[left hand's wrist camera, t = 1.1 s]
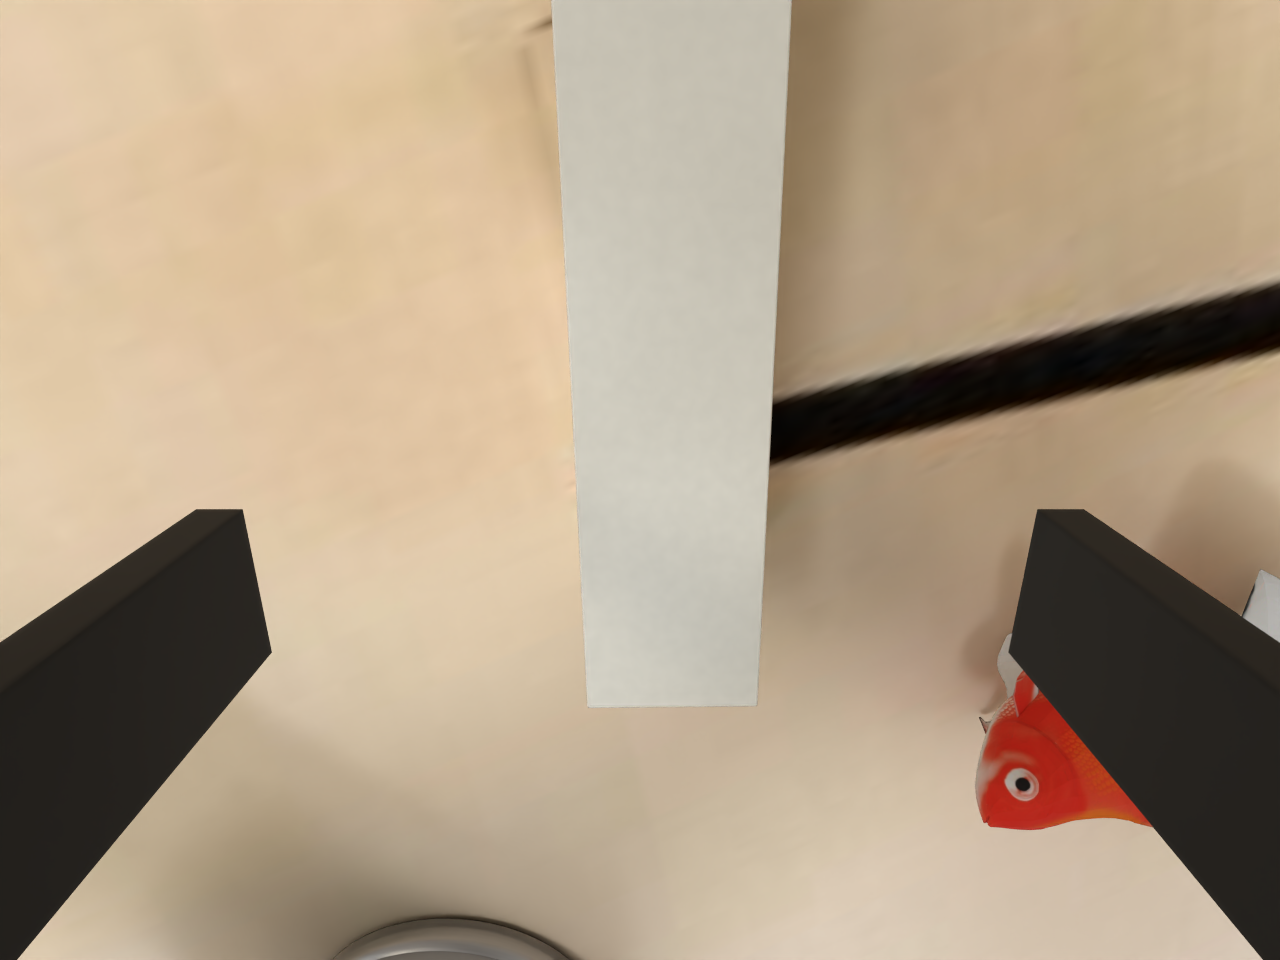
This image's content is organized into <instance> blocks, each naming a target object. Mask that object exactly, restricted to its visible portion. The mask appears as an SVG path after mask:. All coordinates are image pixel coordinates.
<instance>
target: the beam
mask: <svg viewBox="0 0 1280 960" xmlns="http://www.w3.org/2000/svg"><path fill="white" fill-rule="evenodd" d="M551 7H552V27H553V46H554V66H555V86H556V105H557V125H558V144H559V164H560V183H561V203H562V222H563V242H564V261H565V281H566V300H567V320H568V339H569V359H570V378H571V398H572V417H573V437H574V456H575V476H576V495H577V515H578V534H579V554H580V573H581V593H582V612H583V632H584V651H585V671H586V691H587V706H588V708H624V707H727V706H757V704H758V685H759V664H760V644H761V623H762V603H763V583H764V562H765V542H766V521H767V501H768V480H769V460H770V439H771V419H772V398H773V378H774V357H775V337H776V316H777V296H778V275H779V255H780V235H781V214H782V194H783V173H784V153H785V132H786V112H787V91H788V71H789V50H790V30H791V9H792V0H551Z"/></svg>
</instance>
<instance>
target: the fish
mask: <svg viewBox="0 0 1280 960" xmlns="http://www.w3.org/2000/svg"><path fill="white" fill-rule="evenodd" d="M1242 617H1243V618H1244V619H1246V620H1247V621H1249V622H1250V623H1252V624H1253V625H1255V626H1256V627H1258V628H1259V629H1261V630H1262V631H1264V632H1265V633H1267V634H1268V635H1269V636H1271V637H1272V638H1274V639H1275V640H1277V641H1278V642H1280V579H1279V578H1277V577H1275V576H1273V575H1271V574H1269V573H1267V572H1265V571H1264V570H1262V569H1260V572H1259V574H1258V576H1257V579H1256V581H1255V584H1254V586H1253V589H1252V591H1251V594H1250V596H1249V599H1248V601H1247V604H1246V606H1245V609H1244V612H1243V614H1242ZM1011 636H1012V633H1010V634H1008V635H1007V636H1006V638H1005V640H1004V642H1003V645H1002V647H1001V650H1000V652H999V655H998V660H997V667H998V671H999V673H1000V675H1001V678H1002V679H1003V681H1004V683H1005V686H1006V689H1007V698H1008V699H1007V700H1006V701H1005V702H1004V703H1003V704H1002V705H1001V706H1000V707H999V708H998V709H997V711H996V712H995V714H994V716H993V718H992V720H991V721H990V722H985V721H984V720H983V719H982V718H981V717H979V719H980V721H981V723H982V726H983V728H984V731H985V734H986V736H985V739H984V743H983V746H982V750H981V753H980V758H979V762H978V767H977V772H976V782H975V789H976V799H977V803H978V807H979V811H980V814H981V817H982V820H983V822H984V823H986V822H987V823H988V825H989V826H990V827H1000V828H1009V829H1019V830H1037V829H1044V828H1047V827H1052V826H1056V825H1059V824H1063V823H1066V822H1070V821H1074V820H1082V819H1092V818H1117V819H1123V820H1129V821H1132V822H1134V823H1138V824H1142V825H1146V826H1150V827H1153V826H1152V825H1151V824H1150V823H1149V822H1148V820H1147V819H1146V818H1145V817H1144V816H1143V814H1142V813H1141V812H1140V811H1139V809H1138V808H1137V807H1136V806H1135V805H1134V803H1133V802H1132V801H1131V800H1130V799H1129V797H1128V796H1127V795H1126V794H1125V793H1124V791H1123V790H1122V789H1121V788H1120V787H1119V785H1118V784H1117V783H1116V782H1115V781H1114V779H1113V778H1112V777H1111V776H1110V774H1109V773H1108V772H1107V771H1106V770H1105V768H1104V767H1103V766H1102V765H1101V764H1100V762H1099V761H1098V760H1097V759H1096V758H1095V756H1094V755H1093V754H1092V753H1091V752H1090V750H1089V749H1088V748H1087V747H1086V746H1085V744H1084V743H1083V742H1082V741H1081V739H1080V738H1079V737H1078V736H1077V735H1076V733H1075V732H1074V731H1073V730H1072V729H1071V727H1070V726H1069V725H1068V724H1067V723H1066V721H1065V720H1064V719H1063V718H1062V717H1061V715H1060V714H1059V713H1058V712H1057V711H1056V709H1055V708H1054V707H1053V706H1052V704H1051V703H1050V702H1049V701H1048V700H1047V698H1046V697H1045V696H1044V695H1043V694H1042V692H1041V691H1040V690H1039V689H1038V688H1037V686H1036V685H1035V684H1034V683H1033V682H1032V680H1031V679H1030V678H1029V677H1028V676H1027V674H1026V673H1025V672H1024V671H1023V669H1022V668H1021V667H1020V666H1019V665H1018V663H1017V662H1016V661H1015V660H1014V659H1013V657H1012V656H1011V655H1010V654H1009V653H1008V651H1009V646H1010V641H1011Z"/></svg>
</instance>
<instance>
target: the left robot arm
mask: <svg viewBox="0 0 1280 960" xmlns="http://www.w3.org/2000/svg"><path fill="white" fill-rule="evenodd" d="M271 653H272V651H271V646H270V641H269V636H268V631H267V626H266V622H265V617H264V612H263V607H262V602H261V597H260V592H259V587H258V582H257V578H256V573H255V568H254V563H253V558H252V553H251V548H250V543H249V538H248V533H247V529H246V524H245V519H244V514H243V509H196V510H195V511H193V512H192V513H190V514H189V515H187V516H186V517H184V518H183V519H181V520H180V521H178V522H177V523H175V524H174V525H172V526H171V527H170V528H168V529H167V530H165V531H164V532H162V533H161V534H159V535H158V536H156V537H155V538H153V539H152V540H150V541H149V542H147V543H146V544H145V545H143V546H142V547H140V548H139V549H137V550H136V551H134V552H133V553H131V554H130V555H128V556H127V557H125V558H124V559H122V560H121V561H119V562H118V563H117V564H115V565H114V566H112V567H111V568H109V569H108V570H106V571H105V572H103V573H102V574H100V575H99V576H97V577H96V578H94V579H93V580H92V581H90V582H89V583H87V584H86V585H84V586H83V587H81V588H80V589H78V590H77V591H75V592H74V593H72V594H71V595H69V596H68V597H66V598H65V599H64V600H62V601H61V602H59V603H58V604H56V605H55V606H53V607H52V608H50V609H49V610H47V611H46V612H44V613H43V614H41V615H40V616H39V617H37V618H36V619H34V620H33V621H31V622H30V623H28V624H27V625H25V626H24V627H22V628H21V629H19V630H18V631H16V632H15V633H13V634H12V635H11V636H9V637H8V638H6V639H5V640H3V641H2V642H0V960H17V959H18V958H19V957H20V955H21V954H22V953H23V952H24V951H25V949H26V948H27V947H28V946H29V945H30V943H31V942H32V941H33V940H34V939H35V937H36V936H37V935H38V934H39V933H40V931H41V930H42V929H43V928H44V927H45V925H46V924H47V923H48V922H49V920H50V919H51V918H52V917H53V916H54V914H55V913H56V912H57V911H58V910H59V908H60V907H61V906H62V905H63V904H64V902H65V901H66V900H67V899H68V898H69V896H70V895H71V894H72V893H73V892H74V890H75V889H76V888H77V887H78V885H79V884H80V883H81V882H82V881H83V879H84V878H85V877H86V876H87V875H88V873H89V872H90V871H91V870H92V869H93V867H94V866H95V865H96V864H97V863H98V861H99V860H100V859H101V858H102V857H103V855H104V854H105V853H106V852H107V851H108V849H109V848H110V847H111V846H112V844H113V843H114V842H115V841H116V840H117V838H118V837H119V836H120V835H121V834H122V832H123V831H124V830H125V829H126V828H127V826H128V825H129V824H130V823H131V822H132V820H133V819H134V818H135V817H136V816H137V814H138V813H139V812H140V811H141V809H142V808H143V807H144V806H145V805H146V803H147V802H148V801H149V800H150V799H151V797H152V796H153V795H154V794H155V793H156V791H157V790H158V789H159V788H160V787H161V785H162V784H163V783H164V782H165V781H166V779H167V778H168V777H169V776H170V774H171V773H172V772H173V771H174V770H175V768H176V767H177V766H178V765H179V764H180V762H181V761H182V760H183V759H184V758H185V756H186V755H187V754H188V753H189V752H190V750H191V749H192V748H193V747H194V746H195V744H196V743H197V742H198V741H199V739H200V738H201V737H202V736H203V735H204V733H205V732H206V731H207V730H208V729H209V727H210V726H211V725H212V724H213V723H214V721H215V720H216V719H217V718H218V717H219V715H220V714H221V713H222V712H223V711H224V709H225V708H226V707H227V706H228V704H229V703H230V702H231V701H232V700H233V698H234V697H235V696H236V695H237V694H238V692H239V691H240V690H241V689H242V688H243V686H244V685H245V684H246V683H247V682H248V680H249V679H250V678H251V677H252V676H253V674H254V673H255V672H256V671H257V669H258V668H259V667H260V666H261V665H262V663H263V662H264V661H265V660H266V659H267V657H268V656H269V655H270V654H271ZM1008 653H1009V654H1010V655H1011V656H1012V657H1013V659H1014V660H1015V661H1016V662H1017V663H1018V665H1019V666H1020V667H1021V668H1022V669H1023V671H1024V672H1025V673H1026V674H1027V676H1028V677H1029V678H1030V679H1031V680H1032V682H1033V683H1034V684H1035V685H1036V686H1037V688H1038V689H1039V690H1040V691H1041V692H1042V694H1043V695H1044V696H1045V697H1046V698H1047V700H1048V701H1049V702H1050V703H1051V704H1052V706H1053V707H1054V708H1055V709H1056V711H1057V712H1058V713H1059V714H1060V715H1061V717H1062V718H1063V719H1064V720H1065V721H1066V723H1067V724H1068V725H1069V726H1070V727H1071V729H1072V730H1073V731H1074V732H1075V733H1076V735H1077V736H1078V737H1079V738H1080V739H1081V741H1082V742H1083V743H1084V744H1085V746H1086V747H1087V748H1088V749H1089V750H1090V752H1091V753H1092V754H1093V755H1094V756H1095V758H1096V759H1097V760H1098V761H1099V762H1100V764H1101V765H1102V766H1103V767H1104V768H1105V770H1106V771H1107V772H1108V773H1109V774H1110V776H1111V777H1112V778H1113V779H1114V781H1115V782H1116V783H1117V784H1118V785H1119V787H1120V788H1121V789H1122V790H1123V791H1124V793H1125V794H1126V795H1127V796H1128V797H1129V799H1130V800H1131V801H1132V802H1133V803H1134V805H1135V806H1136V807H1137V808H1138V809H1139V811H1140V812H1141V813H1142V814H1143V816H1144V817H1145V818H1146V819H1147V820H1148V822H1149V823H1150V824H1151V825H1152V826H1153V828H1154V829H1155V830H1156V831H1157V832H1158V834H1159V835H1160V836H1161V837H1162V838H1163V840H1164V841H1165V842H1166V843H1167V844H1168V846H1169V847H1170V848H1171V849H1172V851H1173V852H1174V853H1175V854H1176V855H1177V857H1178V858H1179V859H1180V860H1181V861H1182V863H1183V864H1184V865H1185V866H1186V867H1187V869H1188V870H1189V871H1190V872H1191V873H1192V875H1193V876H1194V877H1195V878H1196V879H1197V881H1198V882H1199V883H1200V884H1201V885H1202V887H1203V888H1204V889H1205V890H1206V892H1207V893H1208V894H1209V895H1210V896H1211V898H1212V899H1213V900H1214V901H1215V902H1216V904H1217V905H1218V906H1219V907H1220V908H1221V910H1222V911H1223V912H1224V913H1225V914H1226V916H1227V917H1228V918H1229V919H1230V920H1231V922H1232V923H1233V924H1234V925H1235V927H1236V928H1237V929H1238V930H1239V931H1240V933H1241V934H1242V935H1243V936H1244V937H1245V939H1246V940H1247V941H1248V942H1249V943H1250V945H1251V946H1252V947H1253V948H1254V949H1255V951H1256V952H1257V953H1258V954H1259V955H1260V957H1261V958H1262V959H1263V960H1280V642H1278V641H1277V640H1275V639H1274V638H1272V637H1271V636H1269V635H1268V634H1267V633H1265V632H1264V631H1262V630H1261V629H1259V628H1258V627H1256V626H1255V625H1253V624H1252V623H1250V622H1249V621H1247V620H1246V619H1244V618H1243V617H1241V616H1240V615H1239V614H1237V613H1236V612H1234V611H1233V610H1231V609H1230V608H1228V607H1227V606H1225V605H1224V604H1222V603H1221V602H1219V601H1218V600H1216V599H1215V598H1214V597H1212V596H1211V595H1209V594H1208V593H1206V592H1205V591H1203V590H1202V589H1200V588H1199V587H1197V586H1196V585H1194V584H1193V583H1191V582H1190V581H1188V580H1187V579H1186V578H1184V577H1183V576H1181V575H1180V574H1178V573H1177V572H1175V571H1174V570H1172V569H1171V568H1169V567H1168V566H1166V565H1165V564H1163V563H1162V562H1161V561H1159V560H1158V559H1156V558H1155V557H1153V556H1152V555H1150V554H1149V553H1147V552H1146V551H1144V550H1143V549H1141V548H1140V547H1138V546H1137V545H1135V544H1134V543H1133V542H1131V541H1130V540H1128V539H1127V538H1125V537H1124V536H1122V535H1121V534H1119V533H1118V532H1116V531H1115V530H1113V529H1112V528H1110V527H1109V526H1108V525H1106V524H1105V523H1103V522H1102V521H1100V520H1099V519H1097V518H1096V517H1094V516H1093V515H1091V514H1090V513H1088V512H1087V511H1085V510H1084V509H1037V514H1036V519H1035V524H1034V529H1033V533H1032V538H1031V543H1030V548H1029V553H1028V558H1027V563H1026V568H1025V573H1024V578H1023V582H1022V587H1021V592H1020V597H1019V602H1018V607H1017V612H1016V617H1015V622H1014V626H1013V631H1012V636H1011V641H1010V646H1009V651H1008ZM333 960H569V959H568V958H566V957H565V956H564V955H562V954H561V953H560V952H558V951H557V950H555V949H554V948H552V947H550V946H549V945H547V944H545V943H543V942H541V941H540V940H538V939H536V938H533V937H531V936H529V935H526V934H524V933H522V932H519V931H516V930H513V929H510V928H507V927H503V926H499V925H495V924H491V923H486V922H480V921H473V920H464V919H427V920H417V921H411V922H405V923H401V924H397V925H393V926H389V927H386V928H383V929H380V930H377V931H375V932H373V933H370V934H368V935H366V936H364V937H362V938H360V939H359V940H357V941H355V942H353V943H352V944H350V945H349V946H348V947H346V948H345V949H343V950H342V951H341V952H340V953H339V954H338V955H337V956H336V957H335V958H334V959H333Z"/></svg>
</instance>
